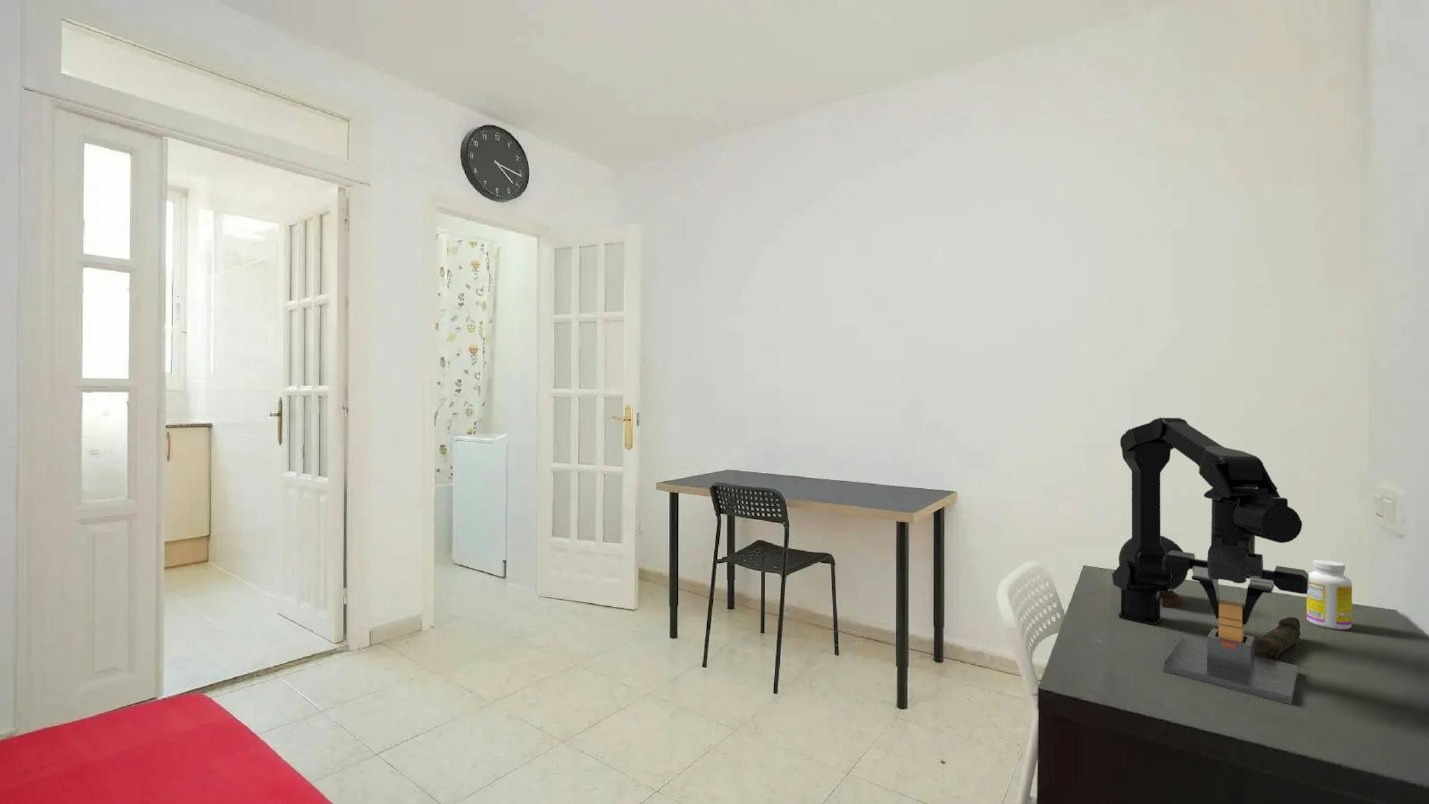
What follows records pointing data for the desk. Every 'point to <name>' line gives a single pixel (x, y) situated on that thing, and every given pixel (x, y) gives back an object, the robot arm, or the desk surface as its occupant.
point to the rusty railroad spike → (1278, 639)
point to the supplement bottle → (1329, 596)
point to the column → (1231, 621)
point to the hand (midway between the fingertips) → (1231, 621)
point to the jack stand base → (1233, 667)
